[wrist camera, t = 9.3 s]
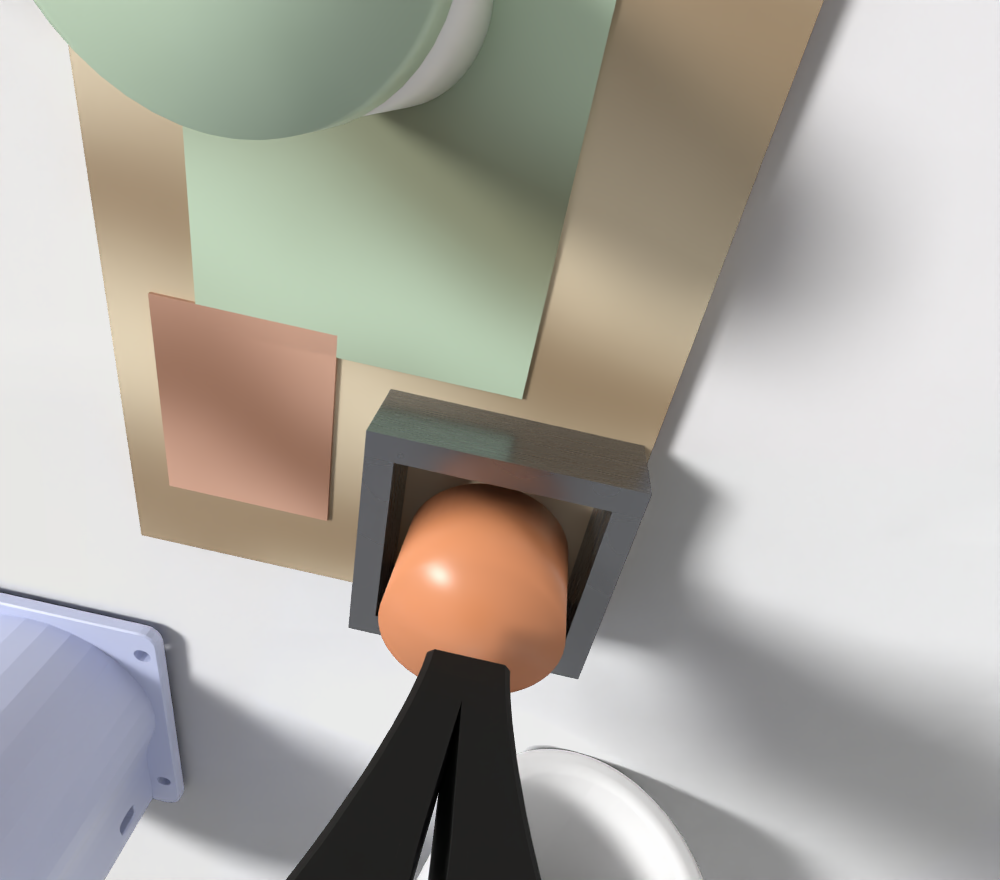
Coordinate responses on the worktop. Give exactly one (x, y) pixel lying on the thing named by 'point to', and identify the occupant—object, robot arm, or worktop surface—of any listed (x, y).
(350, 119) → the white and green cylinder
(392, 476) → the button housing
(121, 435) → the worktop surface
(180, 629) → the worktop surface
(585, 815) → the mug
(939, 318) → the worktop surface
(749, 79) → the picture board
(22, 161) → the worktop surface
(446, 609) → the button
